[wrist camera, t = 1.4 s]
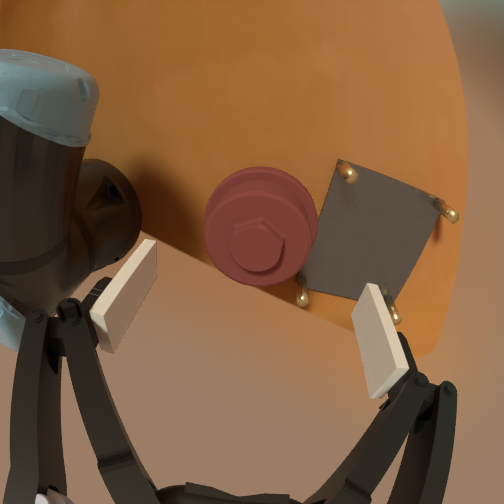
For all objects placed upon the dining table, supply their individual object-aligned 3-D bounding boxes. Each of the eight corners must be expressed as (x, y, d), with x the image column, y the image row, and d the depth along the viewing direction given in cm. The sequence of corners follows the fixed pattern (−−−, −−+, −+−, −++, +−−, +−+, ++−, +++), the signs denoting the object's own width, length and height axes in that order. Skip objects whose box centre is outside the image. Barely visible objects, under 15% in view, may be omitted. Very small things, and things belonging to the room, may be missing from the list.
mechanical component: (328, 196, 30) (268, 251, 35) (262, 134, 28) (205, 199, 32) (351, 249, 20) (260, 321, 24) (248, 153, 17) (166, 251, 21)
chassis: (294, 283, 37) (295, 305, 33) (338, 158, 28) (347, 167, 24) (389, 304, 37) (398, 325, 33) (443, 200, 28) (460, 214, 24)
